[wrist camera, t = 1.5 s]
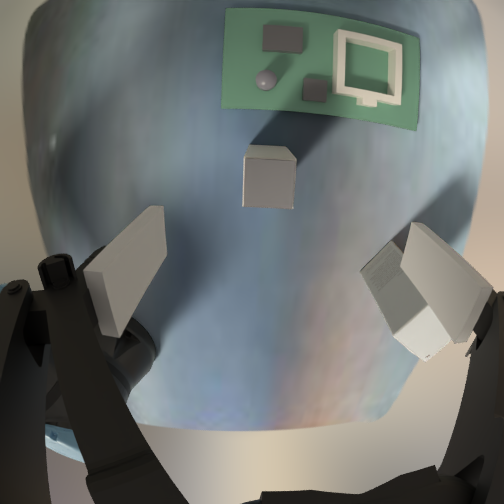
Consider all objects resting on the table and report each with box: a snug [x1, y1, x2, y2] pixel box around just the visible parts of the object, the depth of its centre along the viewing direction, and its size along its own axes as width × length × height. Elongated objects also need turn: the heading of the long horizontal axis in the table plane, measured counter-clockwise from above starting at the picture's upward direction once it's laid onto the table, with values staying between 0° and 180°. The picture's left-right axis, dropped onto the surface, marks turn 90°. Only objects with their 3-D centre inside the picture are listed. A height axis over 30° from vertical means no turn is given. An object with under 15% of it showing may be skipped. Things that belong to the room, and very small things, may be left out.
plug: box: [243, 145, 297, 209], centre depth 26 cm, size 4×4×10 cm
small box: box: [360, 240, 452, 362], centre depth 31 cm, size 8×6×13 cm
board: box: [221, 8, 420, 131], centre depth 24 cm, size 22×12×4 cm, turn 88°
